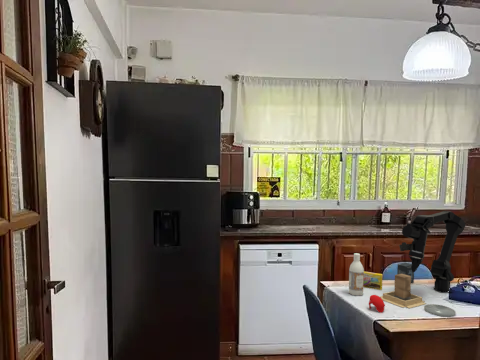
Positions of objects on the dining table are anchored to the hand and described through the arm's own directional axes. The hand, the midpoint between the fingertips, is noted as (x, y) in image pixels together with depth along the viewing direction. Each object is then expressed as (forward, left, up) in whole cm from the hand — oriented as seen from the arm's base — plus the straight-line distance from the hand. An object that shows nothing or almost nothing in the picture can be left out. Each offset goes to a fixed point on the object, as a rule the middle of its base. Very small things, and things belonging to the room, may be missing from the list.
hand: (413, 271), depth 175 cm
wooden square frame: (+9, +6, -12) cm, 16 cm away
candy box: (+17, -15, -12) cm, 26 cm away
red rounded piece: (+27, +16, -12) cm, 34 cm away
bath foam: (+27, -5, -12) cm, 30 cm away
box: (-9, -21, -12) cm, 26 cm away
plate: (0, +20, -12) cm, 23 cm away
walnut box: (+9, +6, -12) cm, 16 cm away
